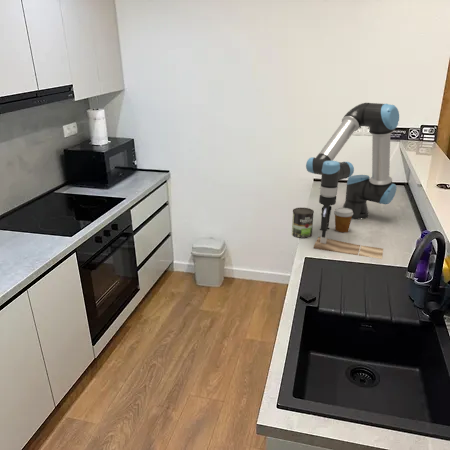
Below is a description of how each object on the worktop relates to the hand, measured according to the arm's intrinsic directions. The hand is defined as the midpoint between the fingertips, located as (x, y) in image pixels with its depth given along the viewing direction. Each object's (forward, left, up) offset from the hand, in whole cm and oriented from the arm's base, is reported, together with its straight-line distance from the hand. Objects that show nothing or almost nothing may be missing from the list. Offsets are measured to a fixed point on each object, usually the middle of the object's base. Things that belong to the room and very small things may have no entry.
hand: (323, 242), depth 204 cm
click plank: (0, +7, -2) cm, 7 cm away
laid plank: (0, +22, -3) cm, 22 cm away
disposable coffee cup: (-23, +6, -3) cm, 24 cm away
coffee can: (-9, -12, -3) cm, 16 cm away
